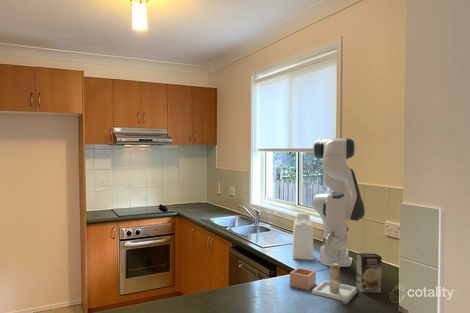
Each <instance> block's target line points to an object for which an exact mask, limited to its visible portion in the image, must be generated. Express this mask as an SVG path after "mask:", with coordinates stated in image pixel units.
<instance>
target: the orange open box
mask: <svg viewBox="0 0 470 313" xmlns="http://www.w3.org/2000/svg"><path fill="white" fill-rule="evenodd" d="M316 272H317V271H316V270H311V269H306V268H303V267H297V268H295V269H294V270H292V271H290V272H289V287H293V288H299V289H302V290H305V291H306V290H307V291H309V290H310V289H311V288H312V287H314V286H315V285H316V284H317V283H316V282H317V281H316V280H317V276H316V275H317V273H316Z"/></svg>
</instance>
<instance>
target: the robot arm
mask: <svg viewBox="0 0 470 313" xmlns="http://www.w3.org/2000/svg"><path fill="white" fill-rule="evenodd" d="M312 153H313V155H314V157H315V158H317V159H320V160H322V167H323V180H324V181H323V183H324V185H325V186H326V187H327V188H329V190H331V192H329V193H319V194H315V196H314V197H313V199H312V207H313V209H314V210H315V211H316V212H317V213H318V214H319V216H320V218H321V220H322V223H323V238H322V245H321V246H320V248H319V249H320V250H319V251H320V252H319V258H317V259H316V261H317V262H320V264H322V265H324V266H326V267H327V266H328V267H330V264H332V265H333V264H334V263H335V264H339V265H340V268H342V267H343V268H344V267H348V268H349V267H352V266H351V265H352V262H353V257H349V249H348V248H347V242H348V232H349V226H347V220H349V221H354V222H355V221H356V222H359V221H360V220H362V219H363V218H364V217H365V214H366V208H365V207H366V206H365V204H364V202H363V199H362V196H361V192H360V187H359V185H358V181H357V178H356V174H355V172H354V169H353V168H350V167H349V165H348V164H347V160H348V159H350V158H353V157H354V156H355V153H356V144H355V141H354V140H353V139H352V138H340V137H338V138H337V137H335V138H325V139H322V138H321V139H317V140H315V141H314V142H313V145H312ZM346 185H347V186H346ZM348 189H349V190H348Z"/></svg>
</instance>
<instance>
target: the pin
mask: <svg viewBox="0 0 470 313" xmlns="http://www.w3.org/2000/svg"><path fill="white" fill-rule="evenodd" d="M329 269H330V271H329V281H330V292H331V293H334V294H338V293H339V283H340V279H341V278H340V272H341V271H340V269H341V267H340V265H339V264H335V263H334V264H333V265H332V264H330V266H329Z"/></svg>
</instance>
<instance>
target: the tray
mask: <svg viewBox="0 0 470 313" xmlns="http://www.w3.org/2000/svg"><path fill="white" fill-rule="evenodd" d="M357 292H358V289H357V287H356V286H353V285H348V284H343V283H340V282H339V293H338V294H334V293H331V292H330V280H325V279H324V280H323V281H321V282H320V283H319V284H318V285H317V286H315V287H314V288H312V290H311V294H313V295H316V296H321V297H325V298H329V299H333V300H338V301H339V303H341V304H345V305H348V303H349V302H350V301H351V300H352V299H353V297H354V296H355V295H356V294H357Z"/></svg>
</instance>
